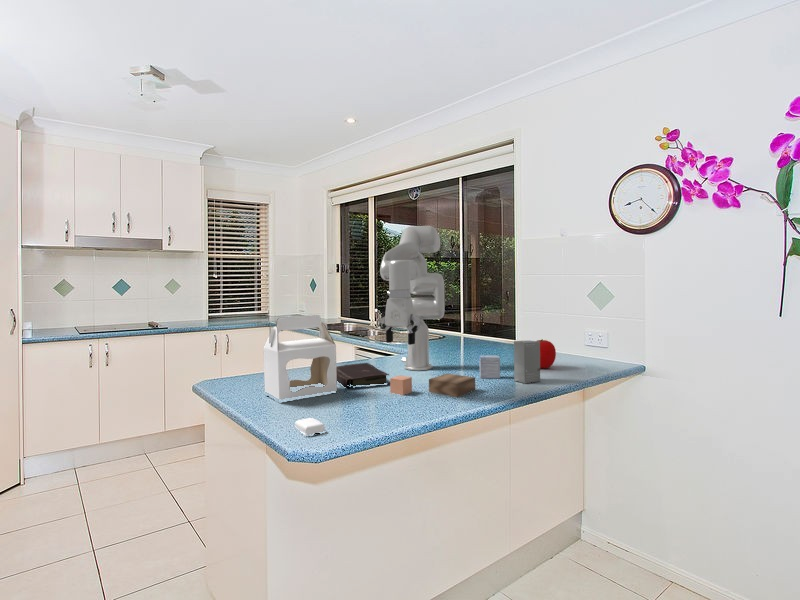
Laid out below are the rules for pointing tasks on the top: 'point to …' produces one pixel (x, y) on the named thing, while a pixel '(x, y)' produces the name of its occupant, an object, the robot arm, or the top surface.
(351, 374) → the diary
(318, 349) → the gable box
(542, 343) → the tomato
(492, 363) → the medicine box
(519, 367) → the tall grey block
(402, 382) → the terracotta cube
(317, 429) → the soap
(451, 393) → the walnut block
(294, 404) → the top surface
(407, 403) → the top surface
